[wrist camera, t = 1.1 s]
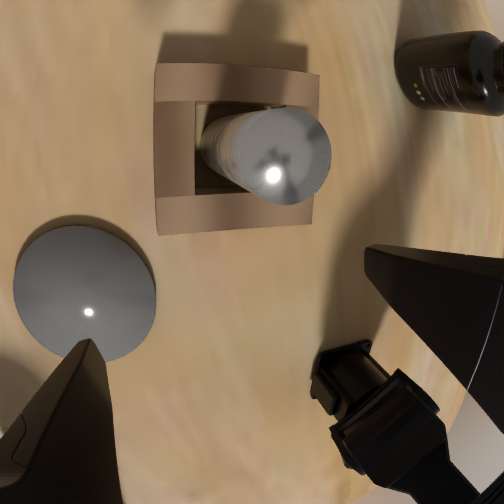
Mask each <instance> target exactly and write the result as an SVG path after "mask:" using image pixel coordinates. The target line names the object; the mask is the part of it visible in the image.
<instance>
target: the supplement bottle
mask: <svg viewBox="0 0 504 504" xmlns="http://www.w3.org/2000/svg"><path fill="white" fill-rule="evenodd" d="M395 68H396V75H397V79H398V82H399V85H400V87H401V89H402V91H403V93H404V94H405V96H406V97H407V98H408V99H409V100H410V101H411V102H412V103H413V104H414V105H416V106H418V107H420V108H422V109H428V110H440V111H452V112H462V113H471V114H479V115H487V116H502V115H504V42H502V43H501V41H500V40H499V39H498V38H496V37H495V36H494V35H492V34H490V33H488V32H485V31H466V32H457V33H448V34H440V35H433V36H427V37H420V38H415V39H411V40H408V41H406V42H405V43H403V44H402V46H401V47H400V48H399V50H398V53H397V56H396V62H395Z"/></svg>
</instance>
